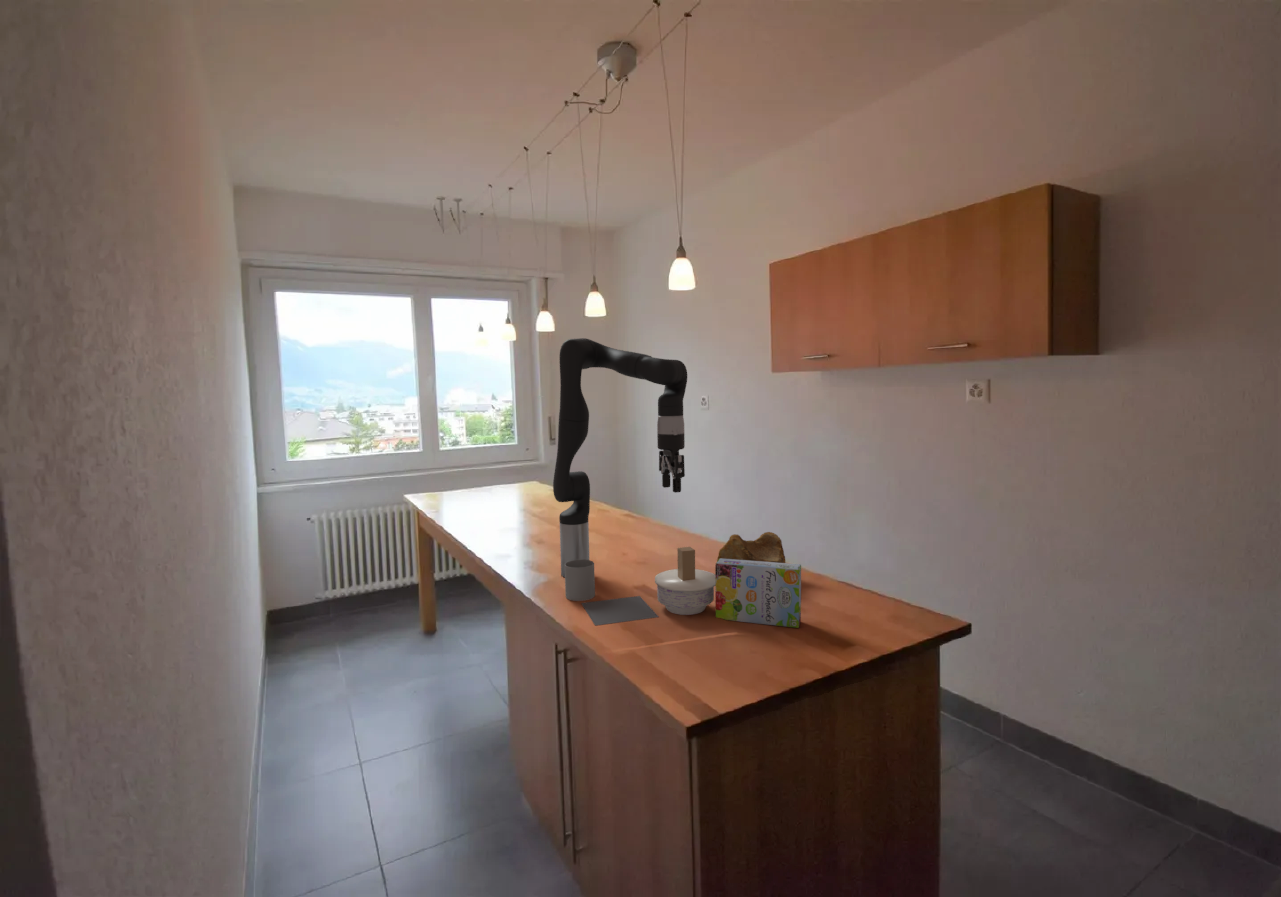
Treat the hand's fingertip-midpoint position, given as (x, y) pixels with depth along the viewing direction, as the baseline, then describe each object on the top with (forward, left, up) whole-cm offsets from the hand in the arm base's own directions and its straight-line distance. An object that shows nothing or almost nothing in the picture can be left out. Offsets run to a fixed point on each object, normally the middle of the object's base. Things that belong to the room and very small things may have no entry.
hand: (671, 489), depth 172 cm
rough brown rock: (-2, +28, -31) cm, 42 cm away
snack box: (+23, +14, -31) cm, 42 cm away
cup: (-9, -25, -31) cm, 41 cm away
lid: (+10, 0, -23) cm, 25 cm away
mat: (+6, -18, -31) cm, 36 cm away
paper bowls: (+10, 0, -31) cm, 33 cm away
